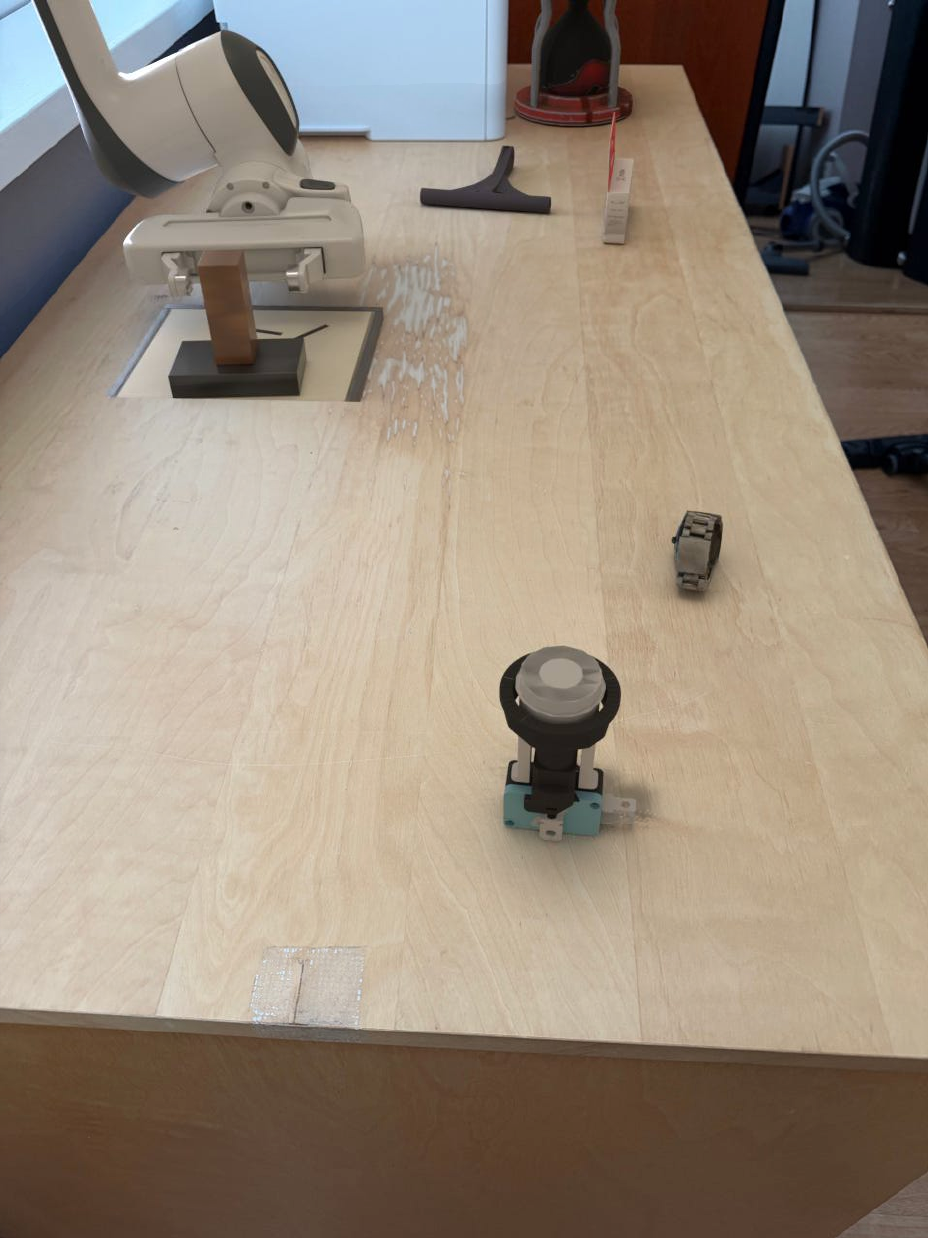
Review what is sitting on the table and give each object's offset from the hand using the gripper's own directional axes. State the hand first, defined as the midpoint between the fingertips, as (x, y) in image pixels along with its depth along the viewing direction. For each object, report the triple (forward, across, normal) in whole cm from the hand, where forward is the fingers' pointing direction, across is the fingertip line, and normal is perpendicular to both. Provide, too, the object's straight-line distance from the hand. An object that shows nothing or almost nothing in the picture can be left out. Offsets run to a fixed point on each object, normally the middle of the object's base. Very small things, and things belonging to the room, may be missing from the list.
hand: (237, 286), depth 83 cm
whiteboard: (+2, 0, +7) cm, 7 cm away
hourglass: (-71, +36, +7) cm, 80 cm away
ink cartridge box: (-29, +35, +7) cm, 46 cm away
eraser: (+4, 0, +6) cm, 7 cm away
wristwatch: (+30, +31, +7) cm, 44 cm away
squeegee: (-41, +24, +7) cm, 48 cm away
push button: (+49, +21, +7) cm, 54 cm away
